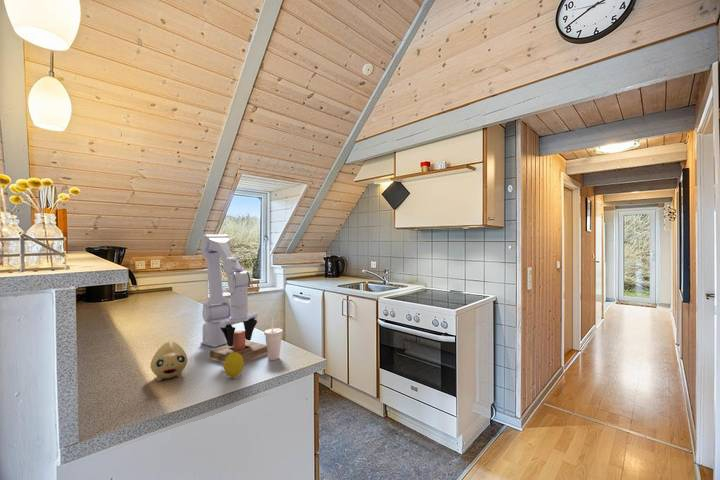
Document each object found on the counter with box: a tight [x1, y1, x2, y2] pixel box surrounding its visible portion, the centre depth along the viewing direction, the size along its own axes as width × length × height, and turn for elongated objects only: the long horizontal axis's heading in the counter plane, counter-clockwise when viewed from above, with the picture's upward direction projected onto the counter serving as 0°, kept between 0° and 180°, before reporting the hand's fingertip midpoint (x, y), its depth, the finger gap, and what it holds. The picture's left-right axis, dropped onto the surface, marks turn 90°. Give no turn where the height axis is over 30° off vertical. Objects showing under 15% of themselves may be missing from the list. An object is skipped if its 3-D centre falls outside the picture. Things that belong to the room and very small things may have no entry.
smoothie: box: [263, 318, 284, 361], centre depth 115 cm, size 6×6×14 cm
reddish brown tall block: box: [233, 330, 246, 351], centre depth 117 cm, size 4×4×8 cm
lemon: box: [223, 352, 245, 379], centre depth 98 cm, size 6×6×8 cm
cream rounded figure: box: [149, 341, 189, 381], centre depth 99 cm, size 10×12×11 cm
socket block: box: [209, 339, 268, 364], centre depth 117 cm, size 14×14×3 cm
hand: (239, 342), depth 117 cm, fingers open, 7 cm apart
